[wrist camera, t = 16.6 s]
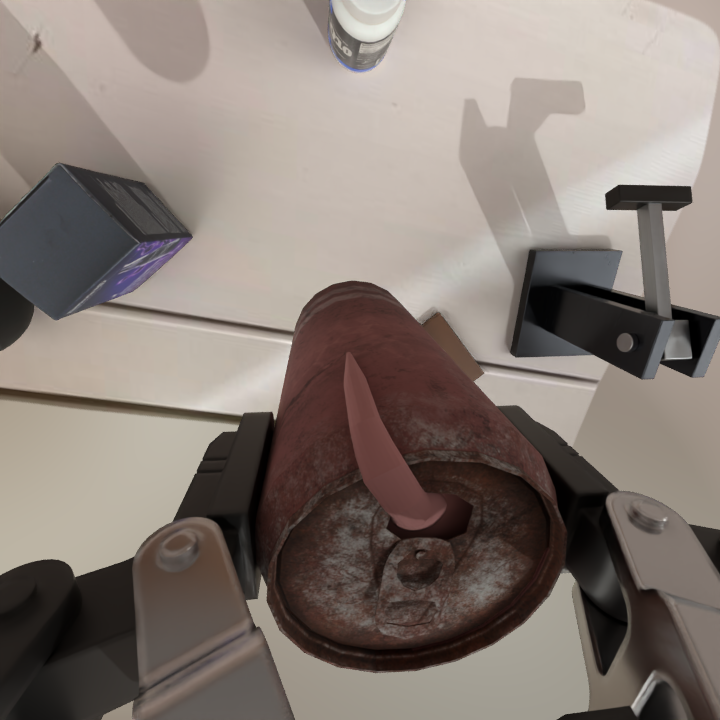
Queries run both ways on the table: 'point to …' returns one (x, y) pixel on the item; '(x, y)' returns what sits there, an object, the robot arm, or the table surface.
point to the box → (85, 240)
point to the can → (397, 497)
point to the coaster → (452, 345)
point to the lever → (656, 251)
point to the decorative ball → (13, 314)
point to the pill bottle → (362, 31)
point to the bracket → (601, 316)
